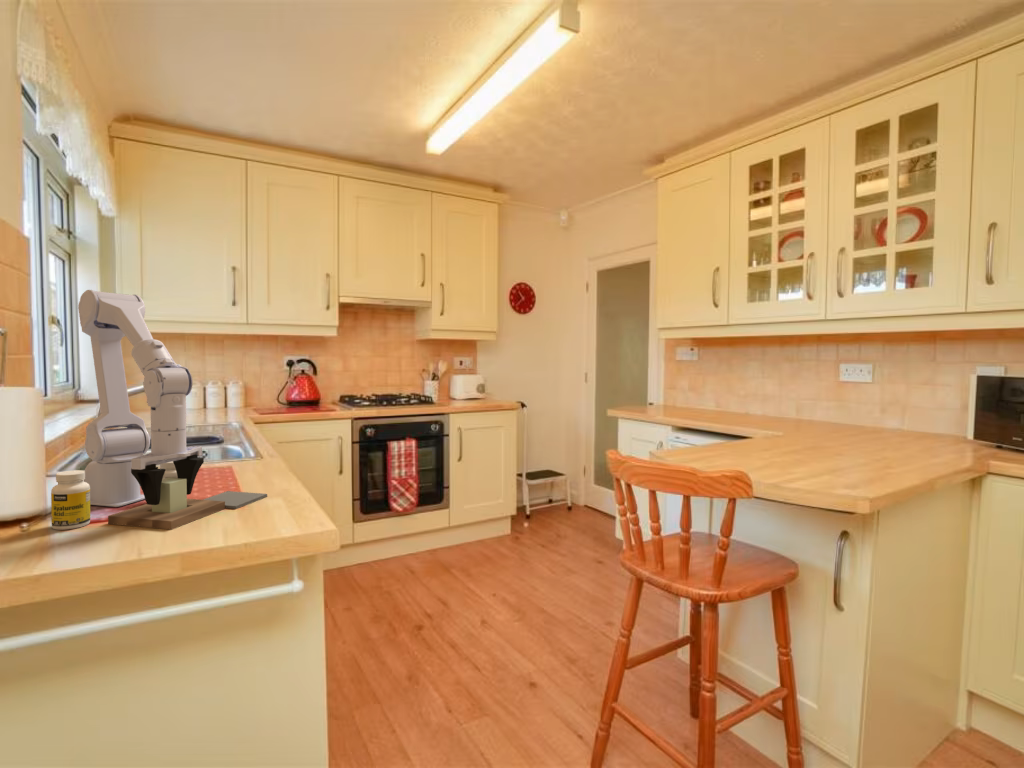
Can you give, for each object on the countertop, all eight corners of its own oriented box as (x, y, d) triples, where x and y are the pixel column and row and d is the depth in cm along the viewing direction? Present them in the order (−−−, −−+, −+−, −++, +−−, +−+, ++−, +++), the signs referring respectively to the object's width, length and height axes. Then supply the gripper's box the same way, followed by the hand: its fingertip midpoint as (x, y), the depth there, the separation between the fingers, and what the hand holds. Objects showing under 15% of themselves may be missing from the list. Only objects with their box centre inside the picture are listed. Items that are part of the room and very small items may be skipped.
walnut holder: (108, 523, 96) (108, 515, 96) (168, 504, 109) (168, 497, 109) (171, 529, 93) (171, 521, 93) (225, 508, 106) (225, 501, 106)
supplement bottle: (47, 532, 91) (45, 476, 90) (57, 523, 95) (55, 470, 95) (86, 528, 93) (85, 474, 93) (94, 519, 98) (93, 468, 97)
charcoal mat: (193, 505, 108) (193, 502, 108) (227, 493, 118) (227, 491, 118) (236, 509, 106) (236, 506, 106) (267, 496, 116) (267, 493, 116)
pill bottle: (189, 497, 115) (189, 459, 114) (173, 503, 110) (173, 463, 109) (169, 496, 115) (169, 458, 115) (152, 501, 110) (152, 462, 110)
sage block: (152, 518, 99) (151, 482, 99) (169, 512, 103) (168, 477, 103) (170, 519, 99) (169, 483, 98) (186, 513, 103) (186, 478, 102)
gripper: (154, 435, 92) (155, 510, 93) (214, 425, 107) (215, 491, 107) (120, 433, 94) (122, 508, 94) (184, 424, 108) (185, 489, 108)
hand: (169, 499), depth 101 cm, fingers open, 7 cm apart
